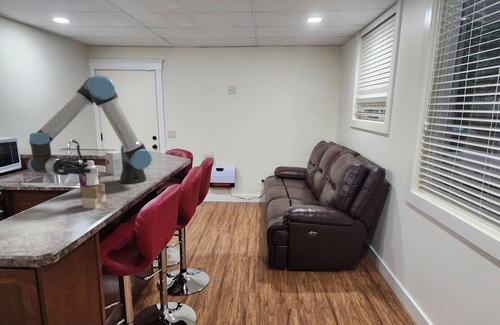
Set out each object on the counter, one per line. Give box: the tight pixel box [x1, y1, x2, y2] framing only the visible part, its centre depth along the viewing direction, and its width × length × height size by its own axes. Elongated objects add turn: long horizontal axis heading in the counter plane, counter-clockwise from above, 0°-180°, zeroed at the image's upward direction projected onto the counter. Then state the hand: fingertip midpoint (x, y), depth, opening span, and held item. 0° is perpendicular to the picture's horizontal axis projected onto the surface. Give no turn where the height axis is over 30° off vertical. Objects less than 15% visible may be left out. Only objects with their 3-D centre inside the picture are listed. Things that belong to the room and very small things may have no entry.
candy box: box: [78, 172, 101, 196], centre depth 151 cm, size 9×4×15 cm, turn 89°
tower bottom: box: [81, 193, 108, 210], centre depth 135 cm, size 7×7×5 cm
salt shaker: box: [86, 160, 99, 186], centre depth 132 cm, size 5×5×11 cm
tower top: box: [80, 182, 106, 199], centre depth 134 cm, size 7×7×5 cm
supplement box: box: [104, 150, 122, 176], centre depth 197 cm, size 9×9×15 cm
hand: (101, 170), depth 131 cm, fingers open, 4 cm apart
